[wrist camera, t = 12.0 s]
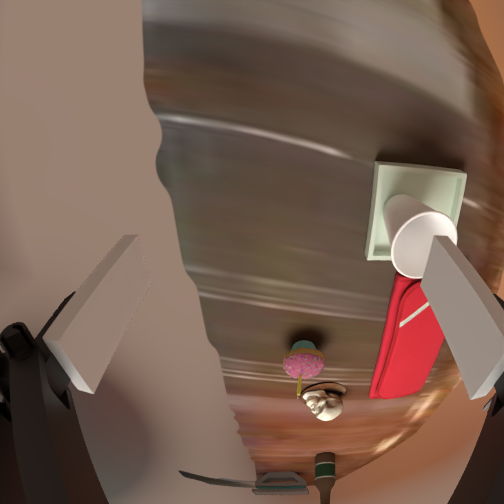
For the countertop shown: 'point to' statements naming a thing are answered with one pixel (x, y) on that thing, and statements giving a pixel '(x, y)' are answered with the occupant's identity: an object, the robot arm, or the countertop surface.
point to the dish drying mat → (406, 342)
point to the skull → (324, 400)
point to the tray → (417, 186)
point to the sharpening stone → (280, 484)
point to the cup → (413, 232)
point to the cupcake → (303, 362)
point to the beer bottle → (325, 475)
